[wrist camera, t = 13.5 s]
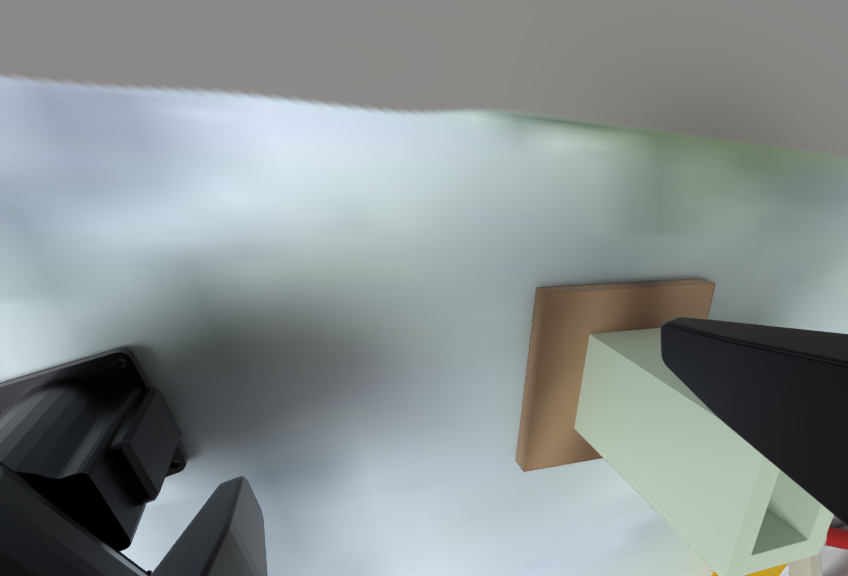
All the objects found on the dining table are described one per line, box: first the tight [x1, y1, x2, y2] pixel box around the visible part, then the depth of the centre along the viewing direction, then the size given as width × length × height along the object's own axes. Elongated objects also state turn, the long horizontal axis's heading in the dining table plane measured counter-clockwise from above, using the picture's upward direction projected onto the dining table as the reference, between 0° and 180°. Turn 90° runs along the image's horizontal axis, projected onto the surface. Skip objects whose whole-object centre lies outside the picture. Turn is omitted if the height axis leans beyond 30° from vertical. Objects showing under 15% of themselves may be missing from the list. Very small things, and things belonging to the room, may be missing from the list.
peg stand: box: [516, 279, 715, 472], centre depth 25 cm, size 11×11×5 cm
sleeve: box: [574, 328, 834, 576], centre depth 22 cm, size 5×6×10 cm
